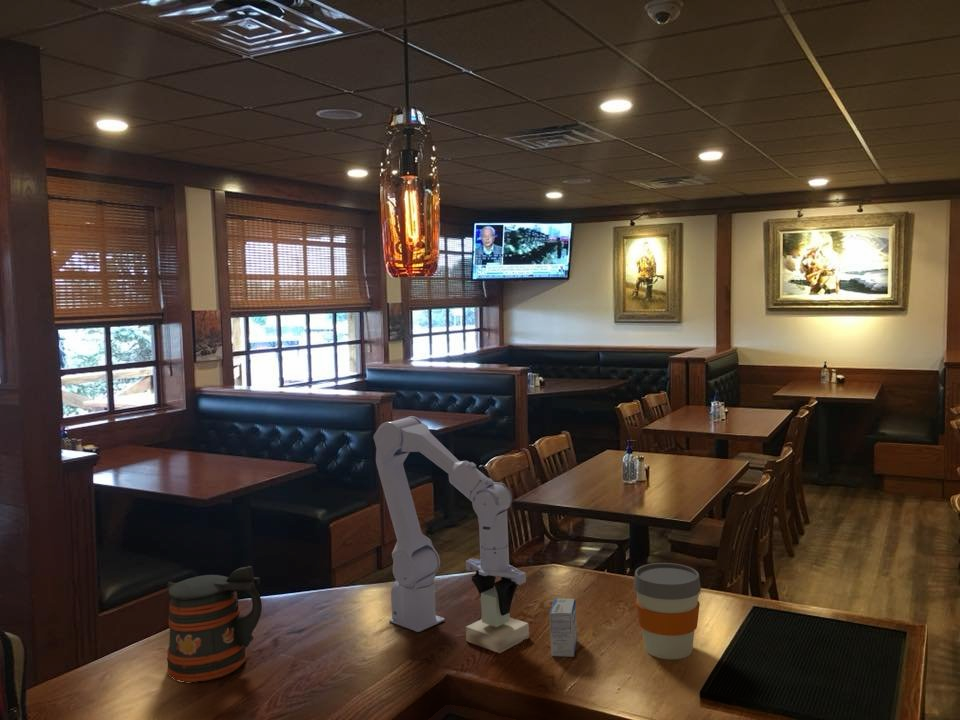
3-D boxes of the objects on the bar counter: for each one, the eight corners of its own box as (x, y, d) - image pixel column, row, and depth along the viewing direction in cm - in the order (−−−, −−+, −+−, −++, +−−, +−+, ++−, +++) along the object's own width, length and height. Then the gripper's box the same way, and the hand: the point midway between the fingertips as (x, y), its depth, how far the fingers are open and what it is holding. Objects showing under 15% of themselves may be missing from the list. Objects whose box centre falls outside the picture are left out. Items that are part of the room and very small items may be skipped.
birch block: (466, 641, 161) (465, 626, 161) (495, 626, 167) (495, 612, 167) (499, 653, 155) (499, 638, 154) (529, 637, 161) (528, 623, 161)
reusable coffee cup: (706, 640, 157) (705, 566, 156) (695, 668, 145) (694, 588, 144) (643, 631, 162) (641, 559, 161) (628, 657, 151) (626, 580, 150)
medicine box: (574, 658, 152) (572, 613, 151) (550, 656, 152) (549, 612, 152) (577, 640, 159) (576, 598, 159) (555, 639, 160) (553, 597, 159)
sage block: (481, 622, 160) (480, 593, 160) (495, 615, 163) (493, 587, 163) (496, 627, 158) (495, 597, 157) (509, 620, 160) (508, 591, 160)
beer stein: (279, 648, 161) (273, 552, 159) (254, 683, 146) (247, 577, 145) (187, 649, 162) (180, 553, 160) (153, 684, 147) (146, 579, 146)
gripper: (454, 543, 161) (457, 608, 163) (508, 557, 152) (511, 626, 153) (478, 535, 167) (480, 598, 168) (531, 547, 157) (534, 614, 158)
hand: (496, 611), depth 161 cm, fingers closed on sage block, 4 cm apart
